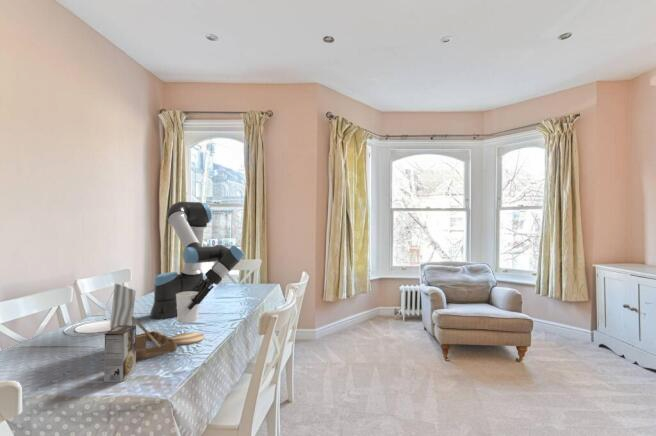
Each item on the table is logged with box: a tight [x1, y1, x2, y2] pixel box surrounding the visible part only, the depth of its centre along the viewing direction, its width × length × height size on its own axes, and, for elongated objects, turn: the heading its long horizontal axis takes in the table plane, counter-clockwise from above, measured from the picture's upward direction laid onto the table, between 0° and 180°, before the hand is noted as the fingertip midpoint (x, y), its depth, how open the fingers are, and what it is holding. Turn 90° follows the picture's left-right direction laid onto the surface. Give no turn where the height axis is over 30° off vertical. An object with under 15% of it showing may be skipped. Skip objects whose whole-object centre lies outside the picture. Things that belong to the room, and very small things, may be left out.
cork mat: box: [170, 332, 205, 346], centre depth 156 cm, size 15×15×1 cm
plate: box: [63, 317, 111, 337], centre depth 172 cm, size 28×28×1 cm
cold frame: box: [109, 282, 178, 362], centre depth 143 cm, size 22×18×27 cm
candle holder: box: [176, 291, 200, 324], centre depth 156 cm, size 10×10×12 cm
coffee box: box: [103, 325, 137, 383], centre depth 119 cm, size 9×6×16 cm
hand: (180, 312), depth 154 cm, fingers closed on candle holder, 9 cm apart
